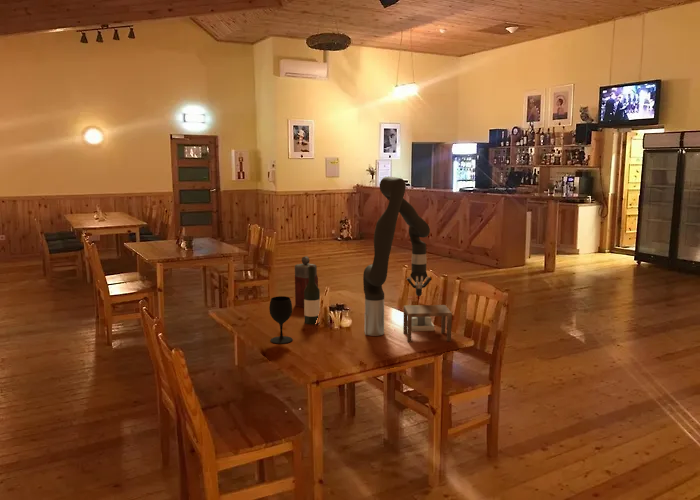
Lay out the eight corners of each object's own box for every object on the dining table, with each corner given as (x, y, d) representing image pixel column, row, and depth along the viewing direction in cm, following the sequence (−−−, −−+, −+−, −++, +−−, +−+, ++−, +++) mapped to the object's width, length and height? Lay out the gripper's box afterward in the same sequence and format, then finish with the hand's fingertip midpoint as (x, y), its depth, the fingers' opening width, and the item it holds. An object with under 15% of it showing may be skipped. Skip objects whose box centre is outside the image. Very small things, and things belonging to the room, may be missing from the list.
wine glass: (274, 345, 262) (273, 302, 259) (267, 338, 271) (265, 297, 268) (296, 341, 267) (295, 299, 263) (287, 335, 276) (287, 294, 273)
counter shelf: (407, 342, 266) (408, 313, 264) (403, 332, 280) (403, 305, 278) (450, 341, 267) (451, 312, 265) (444, 331, 281) (445, 304, 279)
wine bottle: (301, 323, 295) (300, 265, 290) (308, 319, 303) (307, 262, 298) (316, 325, 292) (315, 266, 287) (323, 320, 300) (322, 263, 294)
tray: (409, 331, 282) (410, 317, 281) (406, 325, 292) (407, 311, 291) (434, 330, 283) (434, 316, 282) (430, 324, 293) (430, 311, 291)
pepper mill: (320, 303, 333) (319, 255, 328) (306, 307, 325) (305, 258, 320) (308, 301, 339) (308, 254, 334) (295, 305, 330) (294, 256, 326)
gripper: (430, 260, 296) (430, 293, 299) (404, 261, 296) (404, 294, 299) (433, 263, 289) (433, 297, 292) (407, 264, 288) (406, 298, 291)
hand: (418, 295), depth 295 cm, fingers closed
